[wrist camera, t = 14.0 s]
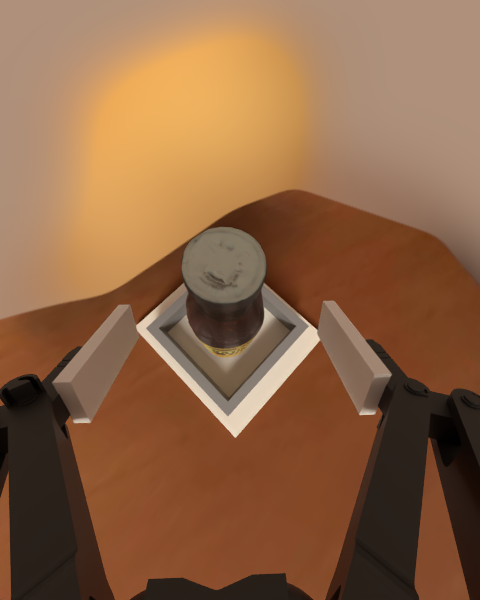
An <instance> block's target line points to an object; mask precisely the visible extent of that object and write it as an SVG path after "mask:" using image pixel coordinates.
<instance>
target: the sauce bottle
mask: <svg viewBox="0 0 480 600" xmlns="http://www.w3.org/2000/svg"><path fill="white" fill-rule="evenodd" d="M181 265H182V267H181V271H182V277H183V281H184V285H185V287H186V289H187V291H188V295H187V298H186V310H187V318H188V323H189V325H190V327H191V328H192V330H193V332H194V334H195V335H196V337H197V338H198V339H199V340H200V341H201V343H202V344H203V345H204V346H205V347H206V348H207V350H208V351H210V352H211V353H212V354H214V355H216V356H219V357H225V358H228V357H233V356H236V355H238V354H240V353H242V352H243V351H244V350H245V349H246V348H247V347H248V346H249V344H250V343H251V342H252V340H253V339H254V337H255V336H256V335H257V333H258V332H259V330H260V329H261V327H262V325H263V321H264V306H263V298H262V291H261V289H262V287H263V284H264V280H265V276H266V269H267V265H266V258H265V254H264V252H263V250H262V248H261V246H260V244H259V243H258V242H257V241H256V240H255V239H254V238H253V237H252V236H251V235H249V234H247V233H246V232H244V231H242V230H238V229H234V228H232V227H217V228H211V229H208V230H206V231H204V232H202V233H201V234H200V235H198V236H196V237H195V238H193V239H192V240H191V241H190V243H189V244H188V245H187V247H186V249H185V251H184V253H183V258H182V261H181Z"/></svg>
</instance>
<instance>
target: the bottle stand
mask: <svg viewBox="0 0 480 600" xmlns="http://www.w3.org/2000/svg"><path fill="white" fill-rule="evenodd" d="M261 291H262V298H263V306H264V321H263V325H262V327H261V329H260V330H259V332H258V333H257V335H256V336H255V337H254V339H253V340H252V342H251V343H250V344H249V346H248V347H247V348H246V349H245V350H244V351H243V352H242V353H240V354H238V355H236V356H233V357H228V358H225V357H219V356H216V355H214V354H212V353H211V352H210V351H208V350H207V348H206V347H205V346H204V345H203V344H202V343H201V341H200V340H199V339H198V338H197V337H196V335H195V334H194V332H193V330H192V328H191V327H190V325H189V323H188V318H187V310H186V298H187V295H188V291H187V289H186V287H185V285H184V283H183V284H182V285H181V286H180V287H179V288H178V289H176V290H175V291H174V292H173V293H172V294H171V295H170V296H169V297H168V298H166V299H165V300H164V301H163V302H162V303H161V304H160V305H159V306H158V307H156V308H155V309H154V310H153V311H152V312H151V313H150V314H149V315H148V316H147V317H145V318H144V319H143V320H142V321H141V322H140V323H139V324H138V325H137V326H136V328H137V331H138V332H139V333H140V334H141V335H142V336H143V337H144V338H145V340H146V341H147V342H148V343H149V344H150V345H151V346H152V347H153V348H154V349H155V350H156V352H157V353H158V354H159V355H160V356H161V357H162V358H163V359H164V360H165V361H166V362H167V364H168V365H169V366H170V367H171V368H172V369H173V370H174V371H175V372H176V373H177V375H178V376H179V377H180V378H181V379H182V380H183V381H184V382H185V383H186V384H187V385H188V387H189V388H190V389H191V390H192V391H193V392H194V393H195V394H196V395H197V396H198V397H199V399H200V400H201V401H202V402H203V403H204V404H205V405H206V406H207V407H208V408H209V409H210V411H211V412H212V413H213V414H214V415H215V416H216V417H217V418H218V419H219V420H220V422H221V423H222V424H223V425H224V426H225V427H226V428H227V429H228V430H229V431H230V432H231V434H232V435H233V436H234V437H235V438H236V437H237V436H238V434H239V433H240V432H241V431H242V430H243V429H244V427H245V426H246V425H247V424H248V423H249V422H250V420H251V419H252V418H253V417H254V416H255V415H256V414H257V412H258V411H259V410H260V409H261V408H262V407H263V405H264V404H265V403H266V402H267V401H268V400H269V399H270V397H271V396H272V395H273V394H274V393H275V392H276V390H277V389H278V388H279V387H280V386H281V385H282V383H283V382H284V381H285V380H286V379H287V378H288V377H289V375H290V374H291V373H292V372H293V371H294V370H295V368H296V367H297V366H298V365H299V364H300V363H301V362H302V360H303V359H304V358H305V357H306V356H307V355H308V353H309V352H310V351H311V350H312V349H313V348H314V346H315V345H316V344H317V343H318V342H319V341H320V338H319V336H318V334H317V331H318V330H316V329H315V328H314V327H313V326H312V325H311V324H310V323H309V322H308V321H306V320H305V319H304V318H303V317H302V316H301V315H300V314H299V313H297V312H296V311H295V310H294V309H293V308H292V307H291V306H290V305H288V304H287V303H286V302H285V301H284V300H283V299H282V298H281V297H279V296H278V295H277V294H276V293H275V292H274V291H273V290H272V289H270V288H269V287H268V286H267V285H266V284H265V283H264V284H263V287H262V289H261Z"/></svg>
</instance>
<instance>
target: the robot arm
mask: <svg viewBox="0 0 480 600" xmlns="http://www.w3.org/2000/svg"><path fill="white" fill-rule="evenodd" d="M317 334H318V336H319V338H320V340H321V342H322V344H323V346H324V348H325V350H326V352H327V354H328V355H329V357H330V359H331V361H332V363H333V365H334V367H335V369H336V371H337V373H338V375H339V377H340V379H341V380H342V382H343V384H344V386H345V388H346V390H347V392H348V394H349V396H350V398H351V400H352V402H353V403H354V405H355V407H356V409H357V411H358V413H359V415H373V414H375V413H376V410H377V408H378V407H379V408H380V410H381V411H382V413H383V414H382V417H381V419H380V421H379V423H378V426H377V428H378V429H377V433H376V436H375V440H374V443H373V446H372V450H371V453H370V456H369V460H368V463H367V467H366V470H365V473H364V477H363V480H362V483H361V487H360V490H359V494H358V497H357V500H356V504H355V507H354V510H353V514H352V517H351V521H350V524H349V527H348V531H347V534H346V537H345V541H344V544H343V547H342V551H341V554H340V558H339V561H338V564H337V568H336V571H335V573H334V576H333V579H332V581H331V584H330V587H329V590H328V593H327V596H326V599H325V600H419V596H418V594H417V592H416V590H415V585H414V579H415V568H416V558H417V547H418V537H419V527H420V517H421V506H422V496H423V486H424V476H425V465H426V455H427V445H428V437H429V438H430V439H431V443H432V447H433V451H434V455H435V460H436V464H437V468H438V472H439V476H440V480H441V484H442V488H443V492H444V496H445V500H446V504H447V508H448V512H449V516H450V520H451V524H452V528H453V533H454V537H455V541H456V545H457V549H458V553H459V557H460V561H461V565H462V569H463V573H464V577H465V581H466V585H467V589H468V593H469V597H470V600H480V396H479V395H478V394H476V393H474V392H471V391H469V390H466V389H454V390H453V391H452V392H451V394H450V395H445V394H441V393H436V392H432V391H430V390H429V389H428V387H426V386H425V385H424V384H423V383H421V382H419V381H417V380H414V379H411V378H408V377H407V376H406V375H405V374H404V372H403V371H402V370H401V369H400V368H399V366H398V365H397V364H396V363H395V362H394V361H393V359H391V357H390V356H389V355H388V354H387V353H386V351H385V350H384V349H383V348H382V347H381V345H379V344H378V343H376V342H375V341H373V340H365V339H364V338H363V337H362V336H361V334H360V333H359V332H358V330H357V329H356V328H355V327H354V325H353V324H352V323H351V322H350V320H349V319H348V318H347V316H346V315H345V314H344V313H343V311H342V310H341V309H340V308H339V306H338V305H337V304H336V302H335V301H323V304H322V310H321V315H320V320H319V326H318V331H317ZM138 338H139V335H138V332H137V328H136V324H135V321H134V317H133V313H132V309H131V306H130V305H118V306H117V308H116V309H115V310H114V311H113V312H112V313H111V315H110V316H109V317H108V318H107V319H106V320H105V322H104V323H103V324H102V325H101V326H100V327H99V329H98V330H97V331H96V332H95V333H94V334H93V336H92V337H91V338H90V339H89V340H88V341H87V342H86V344H85V345H84V346H82V347H76V348H75V349H74V350H72V351H71V352H69V353H68V354H67V355H66V356H65V357H64V358H63V359H62V361H61V362H60V363H59V364H58V365H57V367H55V368H54V369H53V370H52V372H51V373H50V374H49V375H48V376H47V377H46V378H45V379H44V380H43V381H42V383H41V381H40V379H39V378H38V376H37V375H34V374H27V375H23V376H20V377H17V378H15V379H13V380H11V381H9V382H8V383H7V384H5V385H4V386H3V387H2V388H1V389H0V399H1V400H2V402H3V403H4V404H5V405H3V406H0V497H1V493H2V490H3V487H4V483H5V480H6V477H7V474H8V470H9V510H10V559H11V600H115V599H114V596H113V593H112V591H111V589H110V586H109V584H108V581H107V579H106V575H105V572H104V568H103V564H102V560H101V556H100V552H99V548H98V544H97V540H96V536H95V532H94V529H93V525H92V521H91V517H90V513H89V509H88V505H87V501H86V497H85V493H84V490H83V486H82V482H81V478H80V474H79V470H78V466H77V462H76V458H75V454H74V451H73V447H72V443H71V439H70V435H69V431H68V427H67V425H66V424H65V422H66V421H67V419H68V418H69V416H71V418H72V419H73V421H74V423H91V421H92V419H93V417H94V416H95V414H96V412H97V410H98V409H99V407H100V405H101V403H102V402H103V400H104V398H105V396H106V395H107V393H108V391H109V389H110V388H111V386H112V384H113V382H114V380H115V379H116V377H117V375H118V373H119V372H120V370H121V368H122V366H123V365H124V363H125V361H126V359H127V358H128V356H129V354H130V352H131V351H132V349H133V347H134V345H135V343H136V342H137V340H138ZM130 600H313V599H312V598H311V597H310V596H309V595H307V594H306V593H305V592H303V591H302V590H301V589H299V588H297V587H295V586H294V585H291V584H289V583H287V581H286V574H285V573H282V574H259V575H251V576H248V577H246V578H244V579H242V580H240V581H237V582H235V583H233V584H231V585H229V586H227V587H224V588H222V589H220V590H213V589H210V588H208V587H205V586H202V585H200V584H197V583H195V582H192V581H189V580H187V579H184V578H164V579H148V583H147V588H146V590H144V591H142V592H140V593H139V594H137V595H136V596H134V597H133V598H131V599H130Z"/></svg>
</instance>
